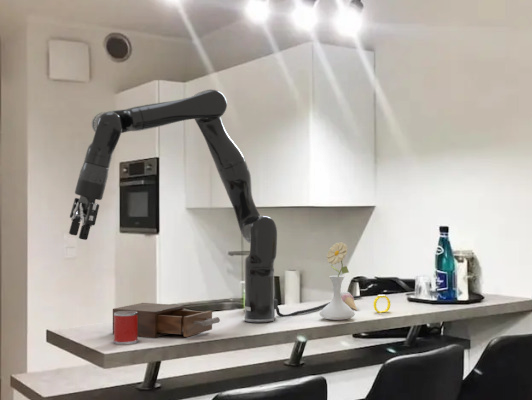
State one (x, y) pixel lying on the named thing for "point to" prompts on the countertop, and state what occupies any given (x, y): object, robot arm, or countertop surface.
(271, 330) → the countertop surface
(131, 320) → the tin can
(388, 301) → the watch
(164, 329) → the drawer
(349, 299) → the ice cream cone
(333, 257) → the flower in vase
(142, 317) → the cabinet
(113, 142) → the robot arm
